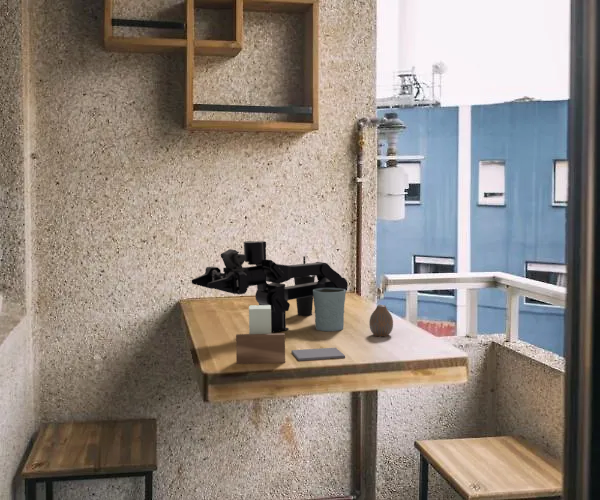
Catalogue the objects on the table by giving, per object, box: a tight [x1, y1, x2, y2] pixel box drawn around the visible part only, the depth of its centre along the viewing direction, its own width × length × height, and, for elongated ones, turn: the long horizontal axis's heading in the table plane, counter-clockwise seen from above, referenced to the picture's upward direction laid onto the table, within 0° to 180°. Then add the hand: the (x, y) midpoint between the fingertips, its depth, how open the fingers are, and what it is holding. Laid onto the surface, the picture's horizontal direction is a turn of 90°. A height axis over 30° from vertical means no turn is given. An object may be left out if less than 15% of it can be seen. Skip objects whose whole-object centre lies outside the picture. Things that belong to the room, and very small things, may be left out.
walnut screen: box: [235, 332, 286, 365], centre depth 167 cm, size 2×12×7 cm, turn 93°
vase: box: [368, 304, 394, 337], centre depth 196 cm, size 7×7×9 cm
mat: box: [291, 347, 346, 362], centre depth 174 cm, size 12×9×1 cm
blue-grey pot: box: [313, 288, 347, 332], centre depth 206 cm, size 10×10×12 cm
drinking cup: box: [293, 255, 317, 317], centre depth 229 cm, size 8×8×20 cm
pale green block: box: [248, 304, 272, 334], centre depth 171 cm, size 6×6×13 cm
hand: (199, 283), depth 188 cm, fingers open, 9 cm apart
